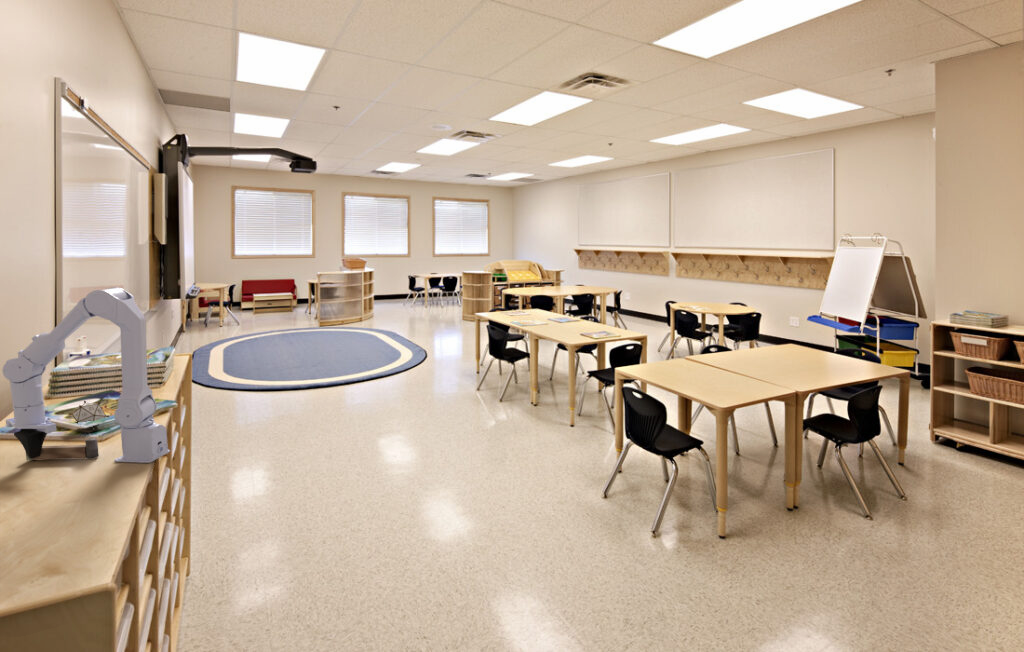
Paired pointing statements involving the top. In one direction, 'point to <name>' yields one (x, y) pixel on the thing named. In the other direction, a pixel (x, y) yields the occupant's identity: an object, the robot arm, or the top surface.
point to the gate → (69, 451)
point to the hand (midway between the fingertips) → (34, 457)
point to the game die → (89, 412)
